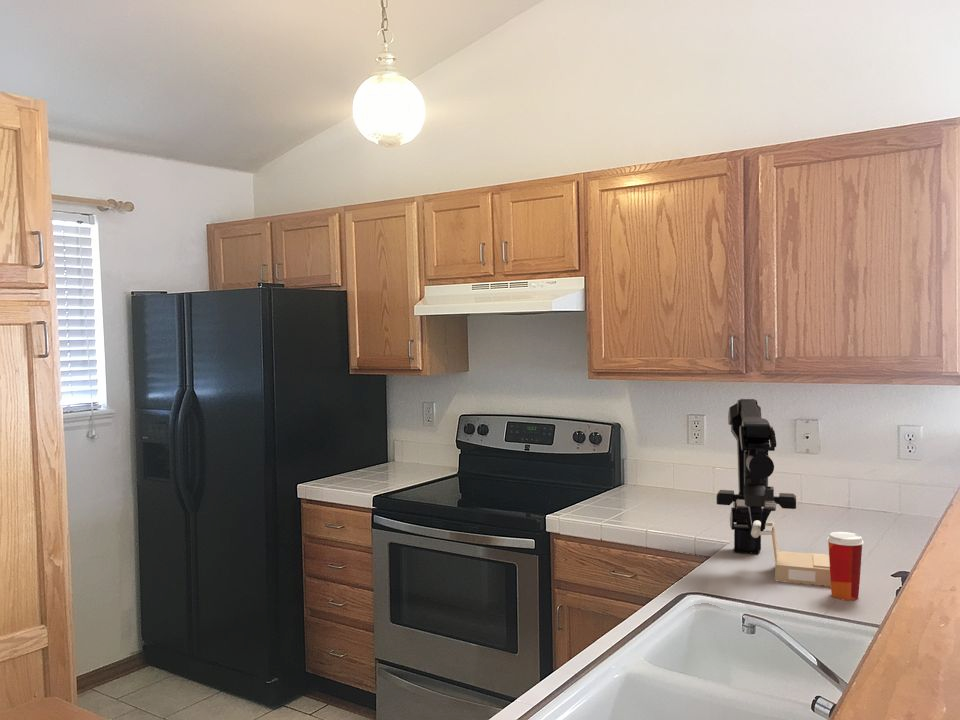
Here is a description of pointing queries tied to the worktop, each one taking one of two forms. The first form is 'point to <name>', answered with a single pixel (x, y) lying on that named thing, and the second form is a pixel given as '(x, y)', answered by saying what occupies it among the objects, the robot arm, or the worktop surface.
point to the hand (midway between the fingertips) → (756, 533)
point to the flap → (757, 532)
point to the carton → (803, 568)
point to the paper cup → (845, 564)
